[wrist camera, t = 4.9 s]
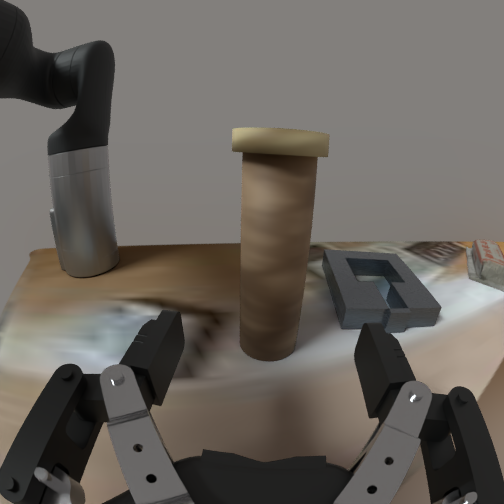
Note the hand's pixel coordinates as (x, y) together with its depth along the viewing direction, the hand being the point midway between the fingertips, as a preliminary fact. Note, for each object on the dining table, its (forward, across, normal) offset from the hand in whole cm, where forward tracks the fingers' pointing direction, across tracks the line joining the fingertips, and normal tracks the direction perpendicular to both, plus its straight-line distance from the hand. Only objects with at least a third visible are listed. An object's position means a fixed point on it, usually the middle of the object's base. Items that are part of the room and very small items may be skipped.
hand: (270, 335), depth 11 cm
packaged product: (+28, -43, +10) cm, 52 cm away
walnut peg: (+10, 0, +9) cm, 13 cm away
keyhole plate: (+19, -13, +9) cm, 24 cm away
